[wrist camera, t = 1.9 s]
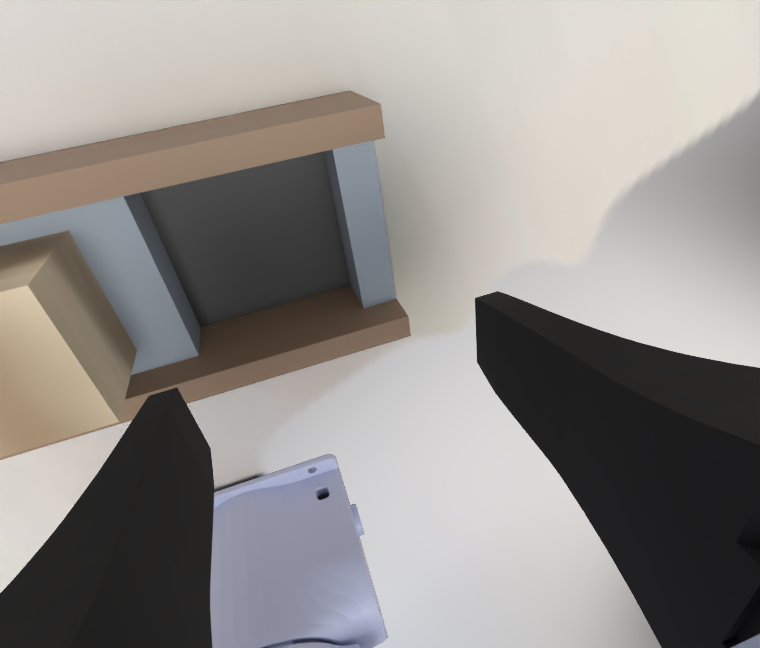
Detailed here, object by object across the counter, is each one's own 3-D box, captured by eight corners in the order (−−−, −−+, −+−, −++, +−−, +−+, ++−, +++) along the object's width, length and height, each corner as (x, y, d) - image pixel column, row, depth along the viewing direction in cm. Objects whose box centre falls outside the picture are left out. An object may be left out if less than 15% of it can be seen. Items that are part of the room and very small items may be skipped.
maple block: (68, 230, 15) (27, 285, 12) (136, 350, 18) (119, 421, 14) (-105, 270, 14) (-201, 341, 11) (-4, 389, 17) (-56, 474, 14)
